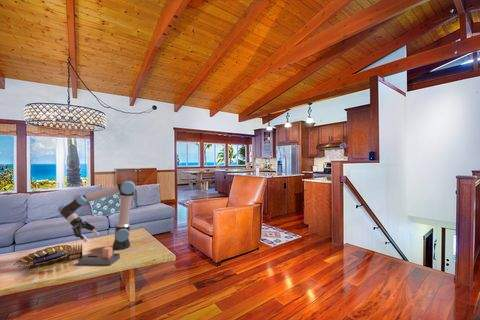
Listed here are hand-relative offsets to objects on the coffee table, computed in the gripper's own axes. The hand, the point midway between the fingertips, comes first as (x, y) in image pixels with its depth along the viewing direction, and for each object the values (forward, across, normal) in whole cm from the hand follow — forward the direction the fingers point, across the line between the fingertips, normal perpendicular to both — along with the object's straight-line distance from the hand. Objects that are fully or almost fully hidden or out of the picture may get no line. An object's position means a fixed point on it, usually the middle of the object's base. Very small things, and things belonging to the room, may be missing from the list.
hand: (92, 238), depth 181 cm
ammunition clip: (+1, -4, -26) cm, 26 cm away
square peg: (+22, 0, -5) cm, 23 cm away
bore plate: (+18, 0, -9) cm, 20 cm away
